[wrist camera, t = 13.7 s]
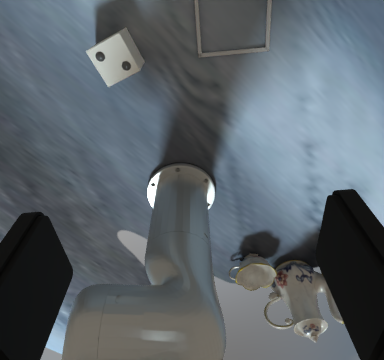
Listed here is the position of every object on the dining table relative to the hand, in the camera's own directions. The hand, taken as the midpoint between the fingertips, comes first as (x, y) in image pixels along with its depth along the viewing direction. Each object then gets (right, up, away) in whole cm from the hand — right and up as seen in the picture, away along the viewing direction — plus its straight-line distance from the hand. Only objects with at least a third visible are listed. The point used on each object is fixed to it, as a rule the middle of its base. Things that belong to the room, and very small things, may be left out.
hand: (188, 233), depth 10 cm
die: (-10, +20, +33) cm, 40 cm away
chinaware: (+23, -17, +58) cm, 65 cm away
